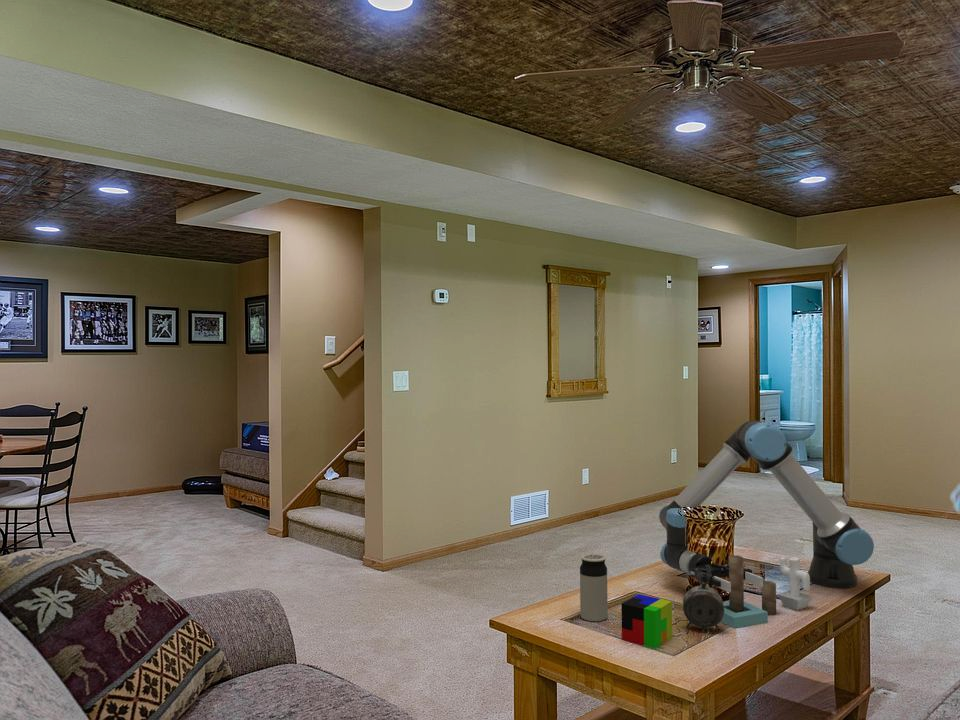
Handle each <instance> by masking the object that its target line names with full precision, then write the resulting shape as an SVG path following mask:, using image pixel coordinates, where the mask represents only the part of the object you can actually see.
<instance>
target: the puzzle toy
mask: <svg viewBox="0 0 960 720" xmlns="http://www.w3.org/2000/svg"><path fill="white" fill-rule="evenodd" d="M672 605H673V601H672V600H667V599H663V598H657V597H652V596H648V595H643V594H639V593H638V594H636V595H635V596H633V597H630V598H629V599H627V600H626V601H624V602H622V603H621V606H620V607H621V641H624V642H628V643H631V644H635V645H639V646H643V647H646V648H651V649H653V650H656V649H658V648H660V647H661V646H662V645H663V644H666V642H668V641H669V640H671V639H673V606H672Z"/></svg>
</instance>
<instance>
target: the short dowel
mask: <svg viewBox="0 0 960 720" xmlns="http://www.w3.org/2000/svg"><path fill="white" fill-rule="evenodd" d="M761 609H762V610H764V611H767V612H768V616H776V615H777V583H776V582H775V581H771V580H763V587H761Z"/></svg>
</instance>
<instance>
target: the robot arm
mask: <svg viewBox="0 0 960 720" xmlns="http://www.w3.org/2000/svg"><path fill="white" fill-rule="evenodd" d="M722 444H723V448H722V449H721V450H720V451H719V452H718V453H717V454H716V455H715V456H714V457H713V458H712V459H711V460H710V462H709V463H708V464H707V465H706V466H705V467H703V469H702V470H701V471H700V472H699V473H698V474H697V475H696V476H695V477H694V478H693V479H692V480H691V481H690V482H689V484H687V486H685V488H684V489H683V490H682V491H681V492H680V493H679V494H678V495H677V496H676V497H675V498H674V499H673V500H672V501H671V502H670V503H669V504H668V505H665V506H663V507H661V508H660V511H659V513H658V519H659V521H660V524H661V526H662V527H664V529H665V530H666V543H665V544H663V546H662V547H661V550H660V554H659V555H660V559H661V561H662V563H664V565H667V566H668V567H670V568H672V569H673V570H674V569H676V570H677V571H681V572H682V573H685V574H687V575H689V576H690V575H691V576H690V577H692V578H694V579H695V580H696V581H697V582H698V580H699V582H700V583H703V582H704V583H707V582H708V580H709V578H708V576H709V577H710V580H709V582H708V583H707V584H706V585H708V587H710V588H712V589H714V587H716V588H718V589H721V590H723V591H725V592H727V593H729V592H731V582H729V580H726V579H725V578H729V563H726V562H725V563H723V564H718V563H715V562H714V563H712V564H711V561H712V560H713V558H711V557H710V556H708V555H706V556H705V554H703V553H701V554H696V553H693V552H690V551H687V521H686V517H685V516H684V515H683V514H682V513H684V511H683V509H681V510H679V509H680V508H683V507H698V506H699V507H700V506H701V505H702V504H703V503H704V502H705V501H706V500H707V499H708V498H709V497H710V496H712V494H713V493H714V492H715V491H716V490H717V488H719V486H721V485H722V484H723V482H724V481H725V480H726V479H728V477H729V476H730V475H731V474H732V473H733V472H735V470H736V469H737V468H738V467H739V466H740V465H741V464H747V462H748V461H749V460H750V459H751V458H752V459H753V460H754V461H755V462H756V464H758V466H759V467H760V468H761V470H763V471H767V472H770V473H771V474H772V475H773V476H774V478H776V480H777V481H778V482H779V484H780V485H781V486H782V487H783V488H784V489H785V491H787V493H788V494H789V496H791V498H792V499H793V500H794V501H795V502H796V503H797V505H798V507H800V509H801V510H803V511H802V512H804V513H805V514H806V516H807V517H808V518H809V520H811V521H812V523H811V524H812V545H813V546H812V550H813V551H812V553H813V555H812V556H813V557H812V559H811V562H810V565H809V569H808V570H807V573H808V574H809V576H810V583H814V584H816V585H820V586H823V587H830V588H838V589H839V588H841V589H844V588H853V587H857V585H858V576H857V574H856V573H855V568H854V566H857V565H858V566H859V565H861V564H864V563H866V562H867V561H868V560H870V558H872V555H873V553H874V548H875V543H874V540H873V538H872V536H871V535H870V534H869V533H868V531H866V530H864V529H862V528H861V527H860V526H859V525H858V524H857V522H856V521H855V520H854V519H853V518H852V517H851V516H850V514H849V513H847V512H841V511H840V510H839V509H838V508H837V507H836V505H835V504H834V503H833V502H832V500H831V499H830V498H829V497H828V496H827V494H826V493H825V492H824V491H823V490H822V488H820V486H819V485H818V484H817V483H816V482H815V480H814V479H813V478H812V477H811V476H810V474H809V473H808V472H807V471H806V470H805V468H803V466H802V465H801V464H800V463H799V461H798V460H797V459H796V458H795V457H794V456H793V452H794V448H793V447H792V446H791V445H790V443H789V442H788V441H787V438H786V435H785V434H784V432H783V431H782V430H781V429H780V428H779V427H778V426H777V425H774V424H772V423H769V422H764V421H760V420H757V419H756V420H755V419H753V420H748V421H746V422H744V423H742V424H740V425H739V426H738V427H737V428H736V429H735V430H734V432H733V433H731V435H730V436H728V438H727V439H726V440H725V441H724V442H723V443H722ZM699 507H698V508H699ZM678 510H679V513H680V514H681V515H682V516H681V515H680V514H679V513H678ZM680 511H681V512H680ZM684 514H685V513H684ZM684 518H685V519H684ZM685 522H686V523H685ZM685 524H686V546H685ZM702 554H703V555H702ZM743 572H744V581H745V582H747V583H748V584H749V583H750V584H752V585H755V586H757V587H760V588H762V587H763V581H764V578H763V577H762V576H760V575H757V574H754V573H753V569H750V568H747V567H745V568H744V567H743ZM700 573H706V574H708V576H707V575H706V574H701V575H699V574H700ZM698 575H699V577H698ZM697 577H698V580H697ZM699 582H698V583H699ZM700 583H699V584H700Z"/></svg>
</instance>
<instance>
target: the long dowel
mask: <svg viewBox="0 0 960 720" xmlns="http://www.w3.org/2000/svg"><path fill="white" fill-rule="evenodd" d="M728 564H729V577H728V581H729V582H731V592H728V594H729V600H728V601H729V608H730V611H732V612H735V613H738V612H744V602H745V595H744V593H745V591H744V590H745V587H744V583H745V582H744V581H745V580H744V572H743V568H744V557H743V556H742V555H738V554H737V555H736V554H734V555H732V554H731V555H729V556H728Z"/></svg>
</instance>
